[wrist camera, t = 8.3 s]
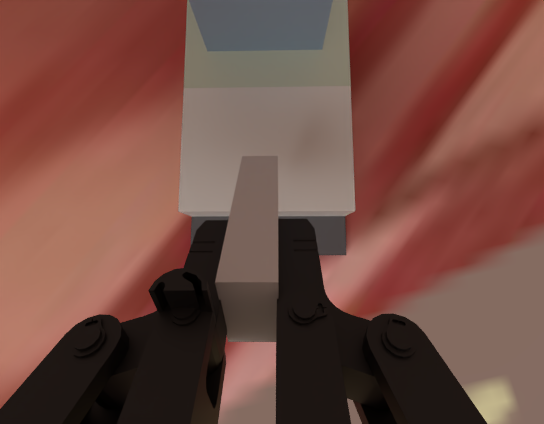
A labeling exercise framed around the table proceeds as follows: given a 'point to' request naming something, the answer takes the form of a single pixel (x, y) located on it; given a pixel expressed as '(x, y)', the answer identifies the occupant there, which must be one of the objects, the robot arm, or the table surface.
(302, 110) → the trap deck
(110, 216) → the table surface
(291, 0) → the block
